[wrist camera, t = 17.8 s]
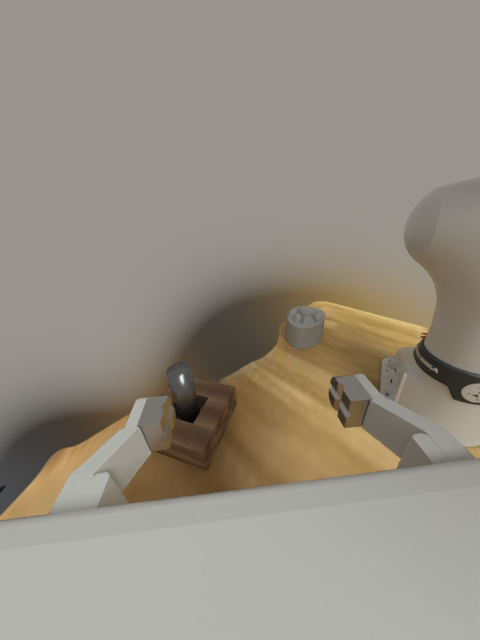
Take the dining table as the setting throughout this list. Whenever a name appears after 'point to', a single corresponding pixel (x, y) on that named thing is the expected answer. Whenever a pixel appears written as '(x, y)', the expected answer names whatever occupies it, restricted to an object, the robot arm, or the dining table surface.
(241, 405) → the dining table surface
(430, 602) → the robot arm
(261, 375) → the dining table surface
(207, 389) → the socket block
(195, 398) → the dark grey rounded rod
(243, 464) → the dining table surface
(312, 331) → the lumpy-topped squat cylinder
